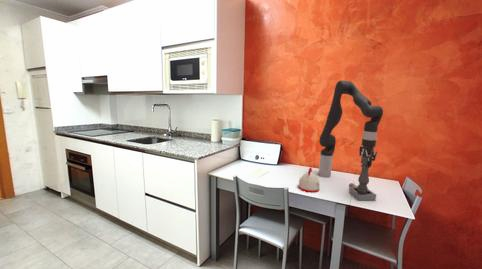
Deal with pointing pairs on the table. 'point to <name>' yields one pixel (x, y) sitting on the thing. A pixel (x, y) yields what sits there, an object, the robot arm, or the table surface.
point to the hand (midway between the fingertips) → (365, 164)
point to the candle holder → (363, 176)
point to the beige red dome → (309, 182)
